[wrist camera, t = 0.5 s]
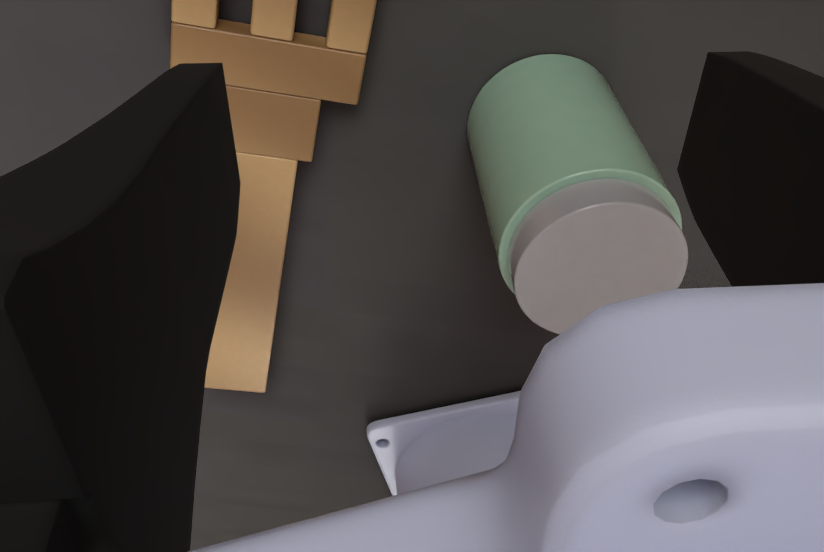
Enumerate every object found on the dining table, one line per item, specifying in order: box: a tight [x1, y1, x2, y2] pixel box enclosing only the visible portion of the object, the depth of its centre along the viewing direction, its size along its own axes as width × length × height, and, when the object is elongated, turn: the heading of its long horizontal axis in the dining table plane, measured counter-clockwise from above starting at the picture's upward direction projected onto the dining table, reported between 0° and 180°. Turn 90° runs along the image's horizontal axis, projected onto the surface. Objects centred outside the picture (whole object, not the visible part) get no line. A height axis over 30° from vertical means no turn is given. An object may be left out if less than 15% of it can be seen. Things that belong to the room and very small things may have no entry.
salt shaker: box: [467, 54, 688, 334], centre depth 21 cm, size 4×4×7 cm
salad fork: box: [170, 0, 377, 393], centre depth 23 cm, size 18×5×1 cm, turn 168°
